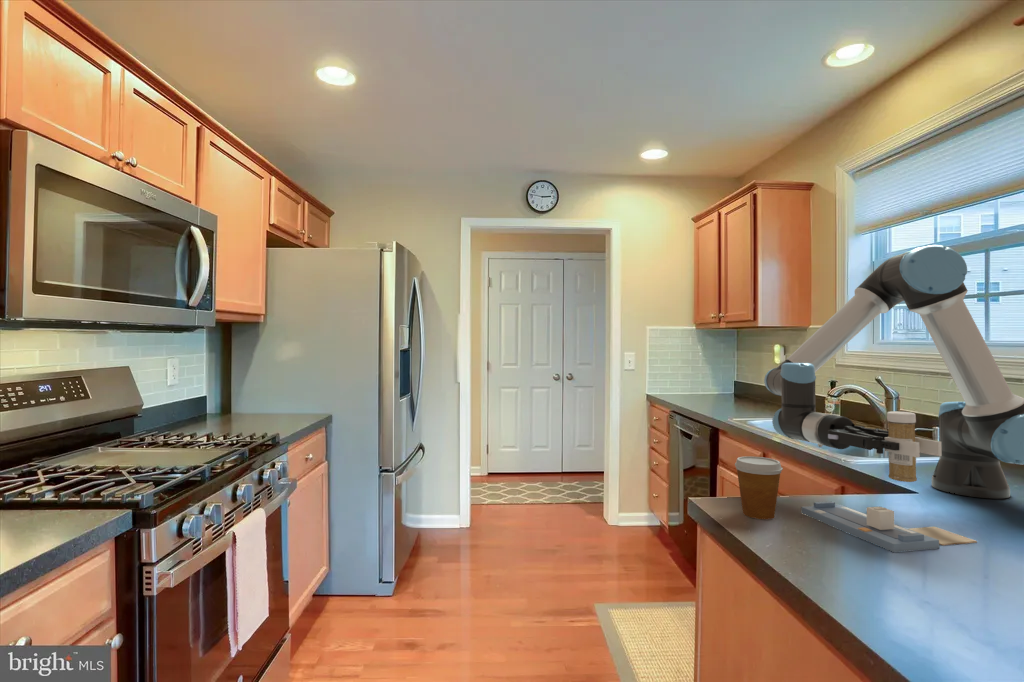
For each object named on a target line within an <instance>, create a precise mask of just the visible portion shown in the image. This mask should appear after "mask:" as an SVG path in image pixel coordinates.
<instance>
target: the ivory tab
mask: <svg viewBox="0 0 1024 682" xmlns="http://www.w3.org/2000/svg"><path fill="white" fill-rule="evenodd" d="M866 514H867V525H869V526H871V527H874V528H877V529H879V530H887V529H894V524H895V511H894V510H892V509H889V508H886V507H882V506H870V507H866Z"/></svg>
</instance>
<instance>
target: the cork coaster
mask: <svg viewBox="0 0 1024 682" xmlns="http://www.w3.org/2000/svg"><path fill="white" fill-rule="evenodd" d="M908 529H909V530H912V531H915V532H918V533H921V534H924V535H926V536H929V537H932V538H934V539H937V540H939V546H951V545H954V544H955V545H963V544H966V545H967V544H975V543H976V544H977V543H978V541H977V540H975V539H973V538H969V537H966V536H964V535H960V534H958V533H955V532H951V531H949V530H946V529H943V528H940V527H937V526H925V527H924V526H923V527H911V528H908Z"/></svg>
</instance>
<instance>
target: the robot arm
mask: <svg viewBox="0 0 1024 682" xmlns="http://www.w3.org/2000/svg"><path fill="white" fill-rule="evenodd" d="M966 275H968V265H967V263H966V260H965V259H964V257H963V256H962V254H960V253H959V252H958V251H957V250H955V249H953V248H951V247H950V246H949V247H948V246H944V245H942V244H941V245H940V244H932V245H926V246H920V247H916V248H913V249H911V250H909V251H905V252H903V253H901V254H897V255H894V256H892V257H889V258H888V259H886V260H885V261H884V262H882V263H881V264H880V265H879V266H878V267H877V268H876V269H875V270H873V271H872V272H871V274H869V276H868V277H866V278H865V280H864V281H862V283H860V284H859V285H858V286H857V287H856V288H855V289H854V296H852V297H851V298H850V299H849V300H848V301H847V302H846V303H845V304H843V306H842V307H840V308H839V309H838V310H837V311H836V312H835V313H834V314H833V315H832V316H831V317H829V319H828V320H826V321H825V323H823V324H822V325H821V326H820V327H819V328H817V330H816V331H815V332H814V333H813V334H812V335H810V336H809V337H808V338H807V339H806V340H805V341H804V342H803V343H801V345H800V346H799V347H798V348H797V349H796V350H795V351H793V352H792V353H791V354H790V355H788V357H787V358H785V360H783V362H781V363H780V364H779V365H778V366H777V367H775V368H772V369H770V370H768V371H767V373H766V374H765V376H764V379H763V380H764V381H763V382H764V386H765V388H766V389H767V390H768V391H769V392H771V393H772V394H773V395H776V396H780V397H781V408H779V409H778V410H776V411H775V413H774V415H773V417H772V427H773V429H774V430H775V432H776V433H777V434H778V435H781V436H782V437H786V438H788V439H791V440H798V441H802V442H807V443H811V444H817V447H819V448H822V447H823V446H824V447H825V446H826V447H828V448H832V449H837V450H845V449H848V448H850V447H855V448H859V449H864V450H868V451H871V450H873V449H874V450H876V454H882V455H883V454H884V451H885V452H888V451H889V452H894V453H898V454H903V455H908V456H913V457H916V458H920V457H921V455H920V454H926V455H932V456H934V457H935V456H937V457H939V459H938V461H937V463H936V465H935V468H934V472H933V474H932V475H931V487H933V488H934V489H937V490H939V491H943V492H945V493H949V492H950V493H951V494H954V493H955V495H960V496H965V497H972V498H973V497H974V498H979V499H980V498H982V499H1008V498H1010V497H1011V488H1010V485H1009V483H1008V480H1007V478H1006V476H1005V473H1004V471H1003V468H1002V466H1001V462H1003V463H1006V464H1013V465H1015V464H1016V465H1024V397H1022V396H1019V395H1017V394H1015V393H1013V391H1012V390H1011V388H1010V387H1009V384H1008V383H1007V381H1006V379H1005V377H1004V375H1003V373H1002V372H1001V369H1000V368H999V366H998V363H997V362H996V360H995V358H994V356H993V354H992V353H991V350H990V349H989V347H988V345H987V343H986V340H985V339H984V337H983V335H982V333H981V332H980V330H979V327H978V326H977V323H975V322H976V321H975V320H974V318H973V317H972V316H973V315H971V312H970V311H969V309H968V307H967V305H966V302H965V301H964V299H965V297H966V294H967V293H968V289H967V286H966V285H965V283H964V281H965V280H966ZM902 302H904V303H905V305H906V308H907V309H908V311H909V312H912V313H916V314H918V315H919V316H920V318H921V319H922V322H923V324H924V326H925V327H926V329H927V331H928V333H929V335H930V337H931V339H932V341H933V343H934V344H935V347H936V349H937V350H938V352H939V354H940V357H941V358H942V360H943V362H944V364H945V366H946V369H947V370H948V372H949V375H950V376H951V378H952V381H954V383H955V384H954V385H955V386H956V387H957V390H958V391H959V393H960V396H961V397H962V399H963V401H945V402H942V403H941V404H940V405H939V411H938V415H937V417H938V429H939V430H938V433H939V434H938V435H939V437H938V438H939V440H933V439H927V438H922V437H916V435H915V442H913V441H907V440H902V439H896V438H890V437H888V436H889V435H888V433H889V432H888V431H889V430H885V429H881V428H878V427H877V428H876V427H875V428H869V427H865V426H864V425H855V424H854V422H853V421H852V420H851V419H850V418H848V417H847V416H842V415H836V414H830V413H824V412H823V413H822V412H818V411H817V412H816V410H817V409H816V379H817V376H816V372H817V371H818V370H819V369H820V368H822V366H824V365H825V364H826V363H827V362H828V361H830V359H832V358H833V357H834V356H835V355H836V354H837V353H838V352H839V351H840V350H842V348H843V347H845V346H846V345H847V344H848V343H849V342H851V340H852V339H854V337H856V336H857V335H858V334H859V333H860V332H861V331H863V329H865V328H866V327H867V326H868V325H869V324H870V323H871V322H872V321H873V320H875V319H876V318H877V316H879V315H880V314H887V313H888V312H890V310H891V309H893V308H894V307H895V306H897V305H898V304H900V303H902ZM1000 461H1001V462H1000Z"/></svg>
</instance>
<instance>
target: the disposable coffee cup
mask: <svg viewBox="0 0 1024 682" xmlns="http://www.w3.org/2000/svg"><path fill="white" fill-rule="evenodd" d="M734 466H735V469H736V473H737V480H738V481H737V482H738V486H739V494H740V501H741V510H742V514H743V515H744V516H746V517H749V518H752V519H757V520H772V519H774V518H775V515H776V508H777V500H778V494H779V487H780V486H779V485H780V478H781V473H782V472H783V466H782V465H781V461H779V460H777V459H773V458H770V457H763V456H740V457H739V456H738V457H737V458H736V462H735V463H734Z"/></svg>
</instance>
